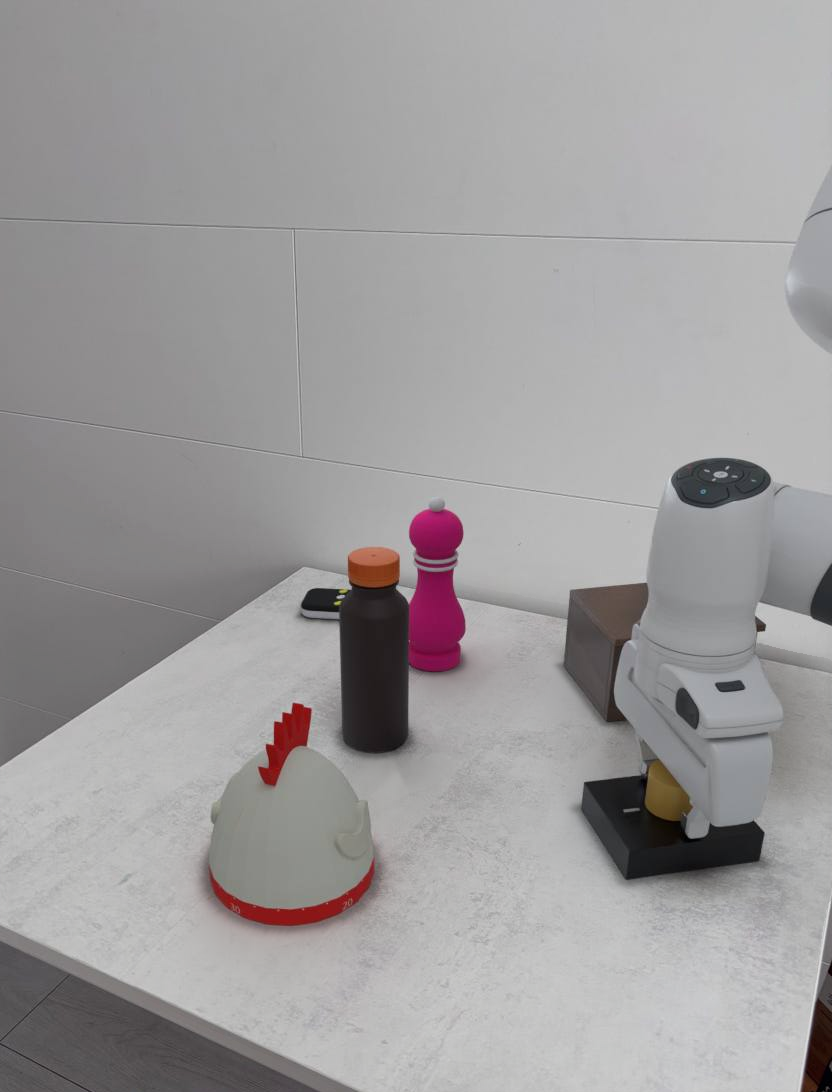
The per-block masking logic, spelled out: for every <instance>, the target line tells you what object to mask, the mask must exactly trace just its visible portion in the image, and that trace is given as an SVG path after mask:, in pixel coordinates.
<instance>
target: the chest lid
mask: <svg viewBox="0 0 832 1092" xmlns="http://www.w3.org/2000/svg"><path fill="white" fill-rule="evenodd" d="M569 597H571V598H572V599H573V601H574V602H575V603H576V604H577V605H578V606H579V607H580V608H581V610H582V611H583V612H584V613H585V614H586V615H587V616H588V617H589V618H590V620H591V621H592V622H593V623H594V624H595V625H596V626H597V627H598V629H599V630H600V631H601V632H602V633H603V634H604V635H605V636H606V637H607V639H608V640H609V641H610V642H611V643H612V644H613V645H614V646H615V647H618V646H624V644H625V643H626V642H627V641H629V640H631V637H632V629H633V626H634V624H636V623H637V622H638V621H639V620H641V617H642V615H643V612H644V610H645V608H646V606H647V603H648V597H649V591H648V586H647V582H637V583H627V584H617V585H605V586H595V587H585V588H574V589H573V588H572V589H569ZM755 624H756V630H757V633H762V632H766V630H767V629H766V628H767V624H766V623H765V622H764V621H762V619H760V618H759V617H758V616H757V615H755Z"/></svg>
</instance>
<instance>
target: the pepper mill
mask: <svg viewBox="0 0 832 1092" xmlns="http://www.w3.org/2000/svg"><path fill="white" fill-rule="evenodd" d="M445 507H446V502H445V500H444V498H442V497H441V496H437V495H436V496H433V497H431V498H430V499H429V501H428V508H427V509H423V510H422V511H420V512H418V513H417V514H415V516H414V517H413V518H412V520H411V522H410V525H409V528H408V529H409V530H408V537H409V541H410V543H411V545H412V546H413V548H414V549H415V550H414V551H413V552H412V555H413V560H412V563H413V565H414V567H416V571H417V578H416V579H417V580H416V582H417V583H416V585H415V590H414V593H413V595H412V597H411V599H410V601H409V602H408V603H409V665H411V667H413V668H415V669H418V670H421V671H425V672H443V671H448V670H451V669H454V668H455V667H457V666H458V665H459V664H460V662H461V658H462V657H461V654H462V653H461V652H462V646H461V644H460V641H461V640H462V639H463V637H464V636H465V634H466V630H467V625H466V617H465V613H464V610H463V608H462V606H461V604H460V601H459V600H458V598H457V595H456V592H455V587H454V570H455V568H457V566H458V565H459V560H458V557H459V551H457V549H458V548H459V547H460V546H461V544H462V542H463V540H464V533H465V532H464V526H463V522H462V521H461V519H460V517H459V516H458V515H457V514H456V513H454V512H453V511H451V510H449V509H446V508H445Z"/></svg>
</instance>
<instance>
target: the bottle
mask: <svg viewBox="0 0 832 1092" xmlns="http://www.w3.org/2000/svg"><path fill="white" fill-rule="evenodd" d="M400 564H401V556H400V553H398V552H397V551H396V550H394V549H392V548H388V547H383V546H365V547H360V548H357V549H355V550H353V551H351V552H350V553H349V554H348V555H347V578H348V584H349V586H351V589H350V590H351V591H350V592H349V593H348V594H347V595H346V596H345V597H344V598H343V599H342V600H341V603H340V605H339V619H338V621H339V622H338V623H339V656H340V658H339V660H340V663H339V665H340V695H341V696H340V698H341V699H340V700H341V734H342V737H343V740H344V741H345V742H346V743H347V745H348V746H350V747H352V748H354V749H356V750H358V751H361V752H365V753H384V752H389V751H392V750H395V749H396V748H399V747H400V746H401V745H403V744H404V743H405V742H406V740H407V739H408V735H409V700H410V698H409V693H410V692H409V691H410V688H409V687H410V685H409V683H410V680H409V679H410V663H409V642H410V641H409V603H410V602H409V601H408V599H407V598H406V597H405V596H404V595H403V593H402V592H400V591H399V590H398V589H397V586H398V585H399V583H400V576H401V565H400Z"/></svg>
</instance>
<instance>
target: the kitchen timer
mask: <svg viewBox="0 0 832 1092" xmlns="http://www.w3.org/2000/svg"><path fill="white" fill-rule="evenodd" d="M312 709H313V708H312V707H308V706H305V705H304V704H303V703H298V702H292V704H291V711H290V712H291V713H290V712H286V711H282V715H281V721H277V720H274V721H273V744H271V743H265V749H264V750H262V751H259V752H258V753H257V754H255V755H254V756H253V757H252V758H250V759H249V760H248V761H247V762H246V763H245V764H243V766H242V767H241V768H240V769H239V770H238V771H237V772H235V773H233V775H231V776H230V778H229V780H228V782H227V784H226V786H225V788H224V790H223V792H222V794H221V796H220V797H219V799H218V800H217V801H214V802H212V804H211V809H210V823H211V824H213V827H212V832H211V838H210V844H209V853H208V854H209V855H208V868H209V878H210V882H211V885H212V888H213V891H214V895H215V896H216V897H217V898H218V899H219V900H220V901H221V902H222V904H223V905H224V906H225V907H226V908H227V909H228V910H230V911H232V912H234V913H236V914H237V915H239V916H241V917H242V918H244V919H247V920H251V921H254V922H258V923H261V924H265V925H273V926H274V925H275V926H290V927H291V926H298V925H299V926H300V925H305V924H312V923H317V922H320V921H323V920H326V919H328V918H332V917H335V916H337V915H340V914H342V912H344V911H345V910H347V909H349V908H350V907H351V906H353V905H354V904H357V902H358V901H360V899H361V898H362V896H363V895H364V894H365V893H366V892H367V890H368V889H369V888H370V886H371V882H372V880H373V877H374V874H375V855H374V844H373V837H372V824H371V815H370V814H371V813H370V809H369V803H368V800H366V799H363V800H360V799H359V797H358V795H357V792H356V791H355V790H354V788H353V787H352V785H351V783H350V782H349V780H348V778H347V777H346V776H345V774H344V773H343V772H342V771H341V770H340V768H338V767H337V766H336V764H334V763H333V762H332V761H331V760H330V759H328V758H327V757H326V756H325V755H324V754H322V753H321V752H319V751H317V750H315V749H312V748H311V747H308V746H307V745H308V741H309V735H310V727H311V720H312V713H313V712H312V711H313V710H312Z"/></svg>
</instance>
